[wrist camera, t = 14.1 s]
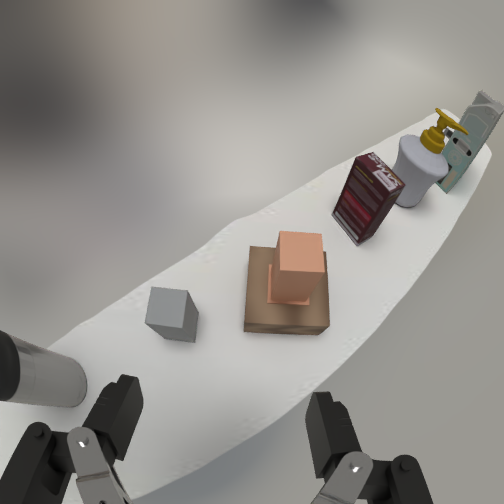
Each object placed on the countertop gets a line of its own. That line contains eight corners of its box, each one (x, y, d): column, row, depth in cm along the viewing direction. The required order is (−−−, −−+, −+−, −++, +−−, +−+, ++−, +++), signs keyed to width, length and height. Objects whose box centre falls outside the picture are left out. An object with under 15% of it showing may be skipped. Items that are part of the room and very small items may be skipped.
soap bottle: (412, 225, 54) (470, 146, 32) (369, 191, 58) (411, 103, 36) (427, 197, 59) (474, 126, 37) (388, 168, 62) (425, 91, 41)
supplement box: (372, 237, 52) (407, 185, 38) (356, 247, 50) (391, 193, 37) (346, 206, 55) (372, 150, 41) (330, 214, 54) (354, 156, 40)
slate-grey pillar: (164, 338, 41) (144, 322, 32) (169, 309, 43) (151, 286, 34) (194, 342, 41) (182, 328, 32) (198, 312, 43) (187, 290, 35)
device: (445, 159, 68) (484, 89, 42) (461, 176, 65) (505, 107, 39) (427, 175, 63) (474, 92, 37) (446, 194, 60) (500, 113, 34)
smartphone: (442, 134, 77) (443, 133, 76) (445, 128, 80) (446, 127, 79) (472, 158, 72) (473, 157, 72) (474, 151, 75) (474, 150, 75)
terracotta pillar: (270, 300, 38) (279, 270, 30) (271, 268, 41) (279, 231, 32) (305, 301, 38) (324, 272, 30) (304, 270, 41) (321, 233, 32)
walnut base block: (243, 331, 42) (244, 322, 37) (248, 263, 48) (250, 245, 42) (318, 334, 42) (330, 325, 37) (316, 268, 48) (326, 251, 42)
